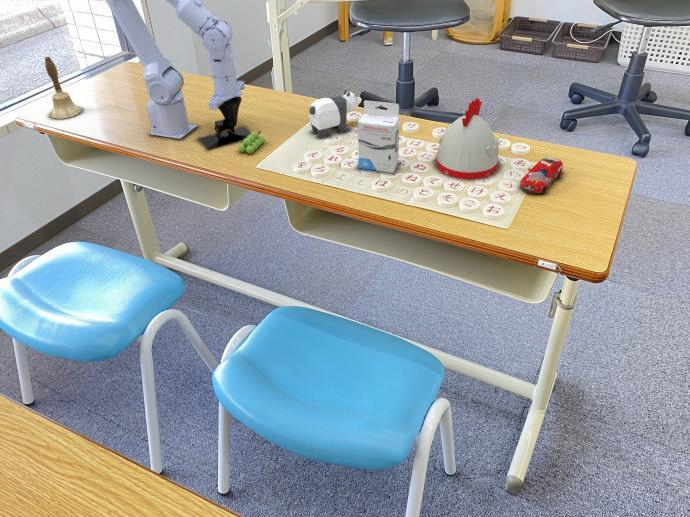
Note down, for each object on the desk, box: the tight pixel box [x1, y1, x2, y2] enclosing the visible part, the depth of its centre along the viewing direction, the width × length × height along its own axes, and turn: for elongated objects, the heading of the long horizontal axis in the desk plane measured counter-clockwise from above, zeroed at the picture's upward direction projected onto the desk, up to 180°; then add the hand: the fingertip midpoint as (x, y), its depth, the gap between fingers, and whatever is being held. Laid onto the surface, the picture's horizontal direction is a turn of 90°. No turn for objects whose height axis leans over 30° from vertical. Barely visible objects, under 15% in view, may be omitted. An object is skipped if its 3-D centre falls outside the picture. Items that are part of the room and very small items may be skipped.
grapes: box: [237, 130, 265, 155], centre depth 146 cm, size 4×9×3 cm, turn 159°
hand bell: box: [44, 56, 82, 120], centre depth 163 cm, size 8×8×16 cm
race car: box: [519, 156, 564, 194], centre depth 127 cm, size 13×5×4 cm, turn 140°
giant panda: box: [308, 89, 363, 139], centre depth 150 cm, size 15×6×10 cm, turn 119°
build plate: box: [198, 118, 252, 151], centre depth 150 cm, size 12×7×5 cm, turn 121°
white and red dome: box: [435, 98, 500, 180], centre depth 131 cm, size 14×14×15 cm
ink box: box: [357, 100, 401, 174], centre depth 132 cm, size 8×5×15 cm, turn 72°
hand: (232, 125), depth 152 cm, fingers closed
